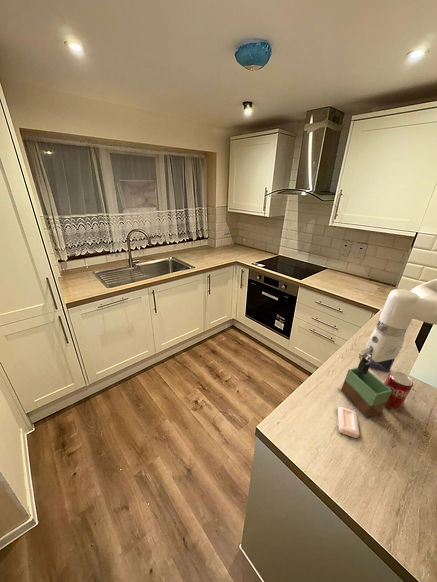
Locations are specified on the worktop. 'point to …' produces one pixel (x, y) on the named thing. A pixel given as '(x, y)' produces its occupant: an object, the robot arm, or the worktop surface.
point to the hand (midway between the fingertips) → (372, 368)
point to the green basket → (368, 387)
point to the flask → (379, 365)
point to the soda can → (398, 389)
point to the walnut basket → (361, 401)
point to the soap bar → (348, 422)
